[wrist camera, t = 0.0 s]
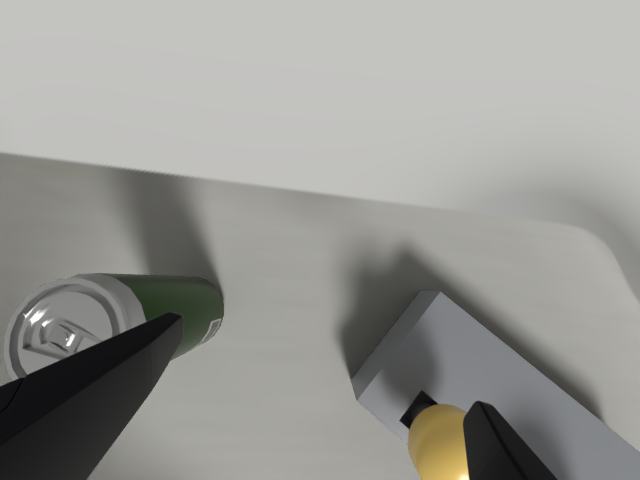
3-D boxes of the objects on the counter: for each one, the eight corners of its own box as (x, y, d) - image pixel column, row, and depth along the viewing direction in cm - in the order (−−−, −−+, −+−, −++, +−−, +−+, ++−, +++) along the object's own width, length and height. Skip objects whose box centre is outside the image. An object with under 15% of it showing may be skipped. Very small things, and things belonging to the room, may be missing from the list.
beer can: (238, 293, 24) (155, 305, 12) (208, 356, 23) (88, 436, 11) (179, 266, 24) (42, 251, 12) (148, 327, 23) (-30, 375, 12)
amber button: (462, 440, 19) (524, 511, 13) (402, 456, 19) (438, 534, 13) (444, 376, 19) (496, 416, 14) (386, 391, 19) (413, 438, 13)
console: (612, 445, 22) (675, 480, 18) (544, 549, 21) (596, 611, 17) (420, 289, 24) (440, 291, 20) (350, 380, 23) (356, 400, 19)
